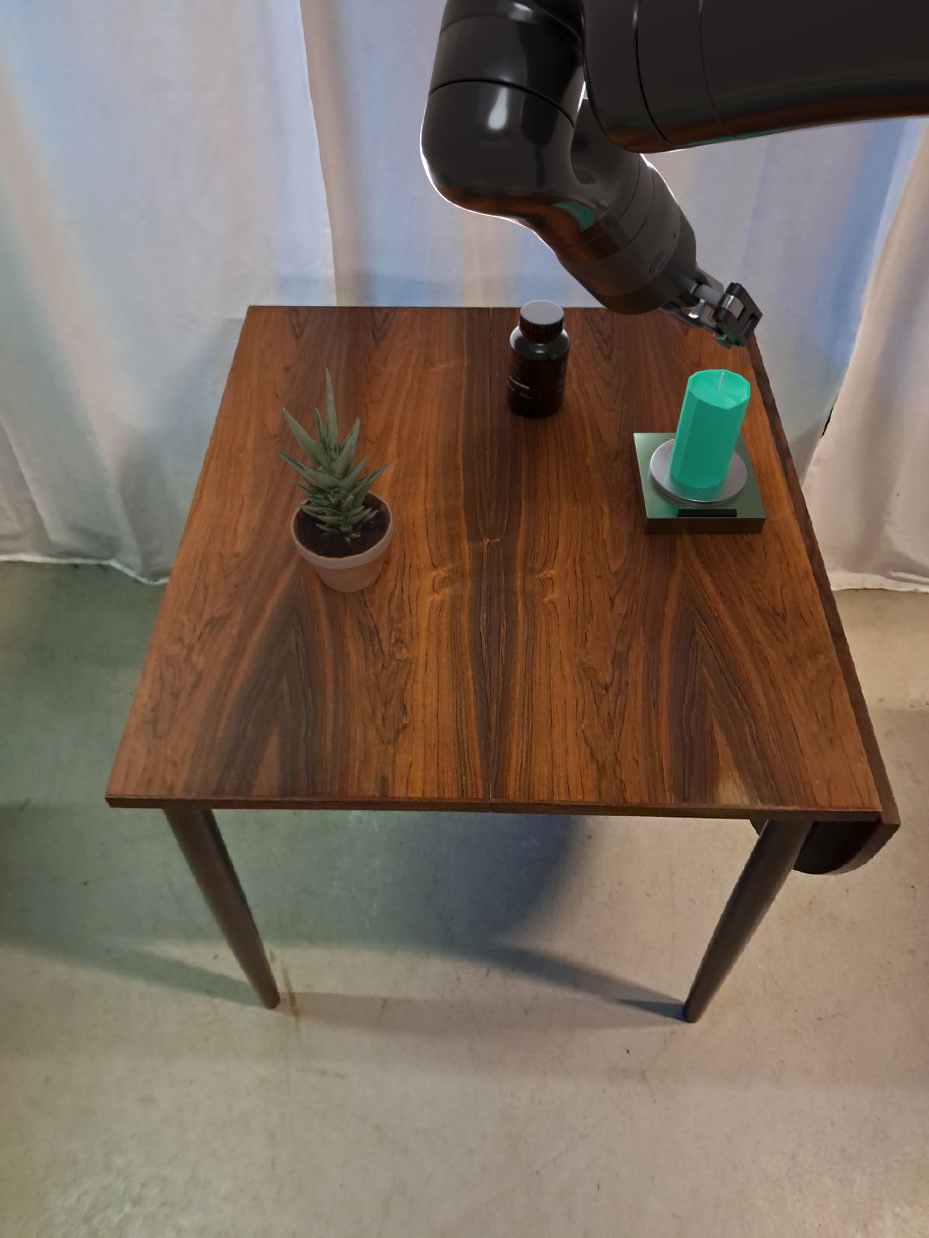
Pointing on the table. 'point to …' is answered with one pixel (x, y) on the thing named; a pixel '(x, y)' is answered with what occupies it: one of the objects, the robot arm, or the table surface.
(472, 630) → the table surface
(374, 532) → the potted plant
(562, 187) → the robot arm
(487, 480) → the table surface
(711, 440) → the candle
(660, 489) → the scale
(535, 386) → the supplement bottle
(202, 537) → the table surface
